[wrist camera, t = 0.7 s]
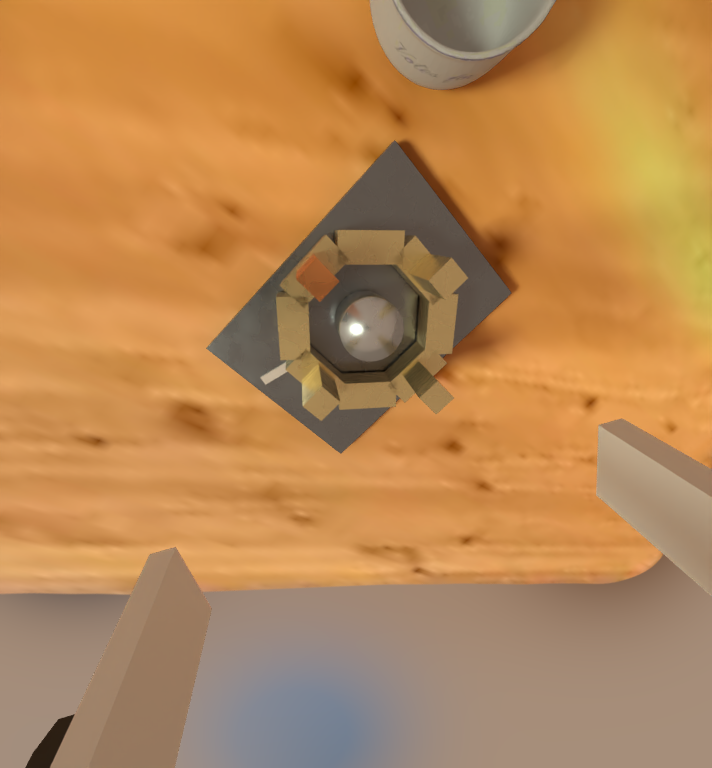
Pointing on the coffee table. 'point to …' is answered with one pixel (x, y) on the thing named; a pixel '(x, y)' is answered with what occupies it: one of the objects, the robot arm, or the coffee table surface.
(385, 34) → the teacup
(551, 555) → the coffee table surface
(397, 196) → the housing
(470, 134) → the coffee table surface
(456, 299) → the ring nut
